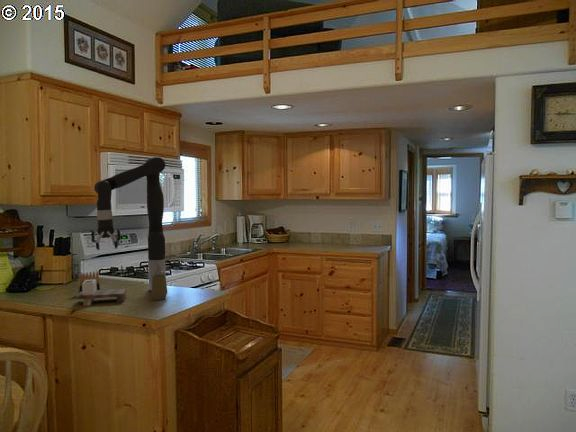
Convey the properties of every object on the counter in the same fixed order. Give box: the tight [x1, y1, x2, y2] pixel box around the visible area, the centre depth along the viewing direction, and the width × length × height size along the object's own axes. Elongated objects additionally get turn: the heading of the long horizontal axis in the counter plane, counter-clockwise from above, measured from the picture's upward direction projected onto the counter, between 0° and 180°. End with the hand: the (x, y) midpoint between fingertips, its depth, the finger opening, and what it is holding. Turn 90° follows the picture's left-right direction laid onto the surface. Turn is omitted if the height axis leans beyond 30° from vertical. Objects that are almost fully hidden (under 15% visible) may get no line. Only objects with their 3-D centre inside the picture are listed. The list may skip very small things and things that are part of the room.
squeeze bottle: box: [150, 264, 168, 301], centre depth 224 cm, size 8×8×18 cm
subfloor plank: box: [75, 288, 127, 307], centre depth 221 cm, size 22×16×5 cm
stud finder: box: [82, 278, 97, 295], centre depth 219 cm, size 5×9×6 cm, turn 15°
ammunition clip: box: [78, 270, 101, 294], centre depth 239 cm, size 11×2×12 cm, turn 129°
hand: (107, 249), depth 231 cm, fingers open, 8 cm apart
